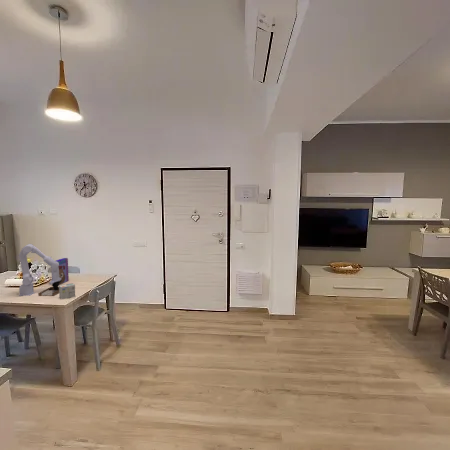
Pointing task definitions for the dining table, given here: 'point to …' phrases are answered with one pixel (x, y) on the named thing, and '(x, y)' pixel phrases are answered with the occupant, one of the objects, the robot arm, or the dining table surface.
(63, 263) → the cereal box
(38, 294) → the walnut box
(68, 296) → the light bulb box
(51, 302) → the dining table surface
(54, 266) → the robot arm
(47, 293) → the cover plate
